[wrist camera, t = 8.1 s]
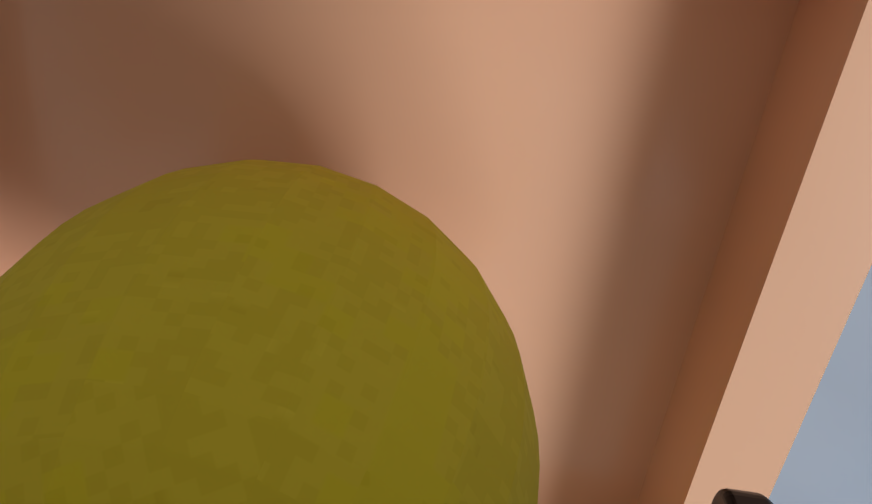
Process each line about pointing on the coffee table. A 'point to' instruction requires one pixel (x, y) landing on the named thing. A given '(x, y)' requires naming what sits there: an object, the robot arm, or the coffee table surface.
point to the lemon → (258, 352)
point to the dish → (520, 184)
